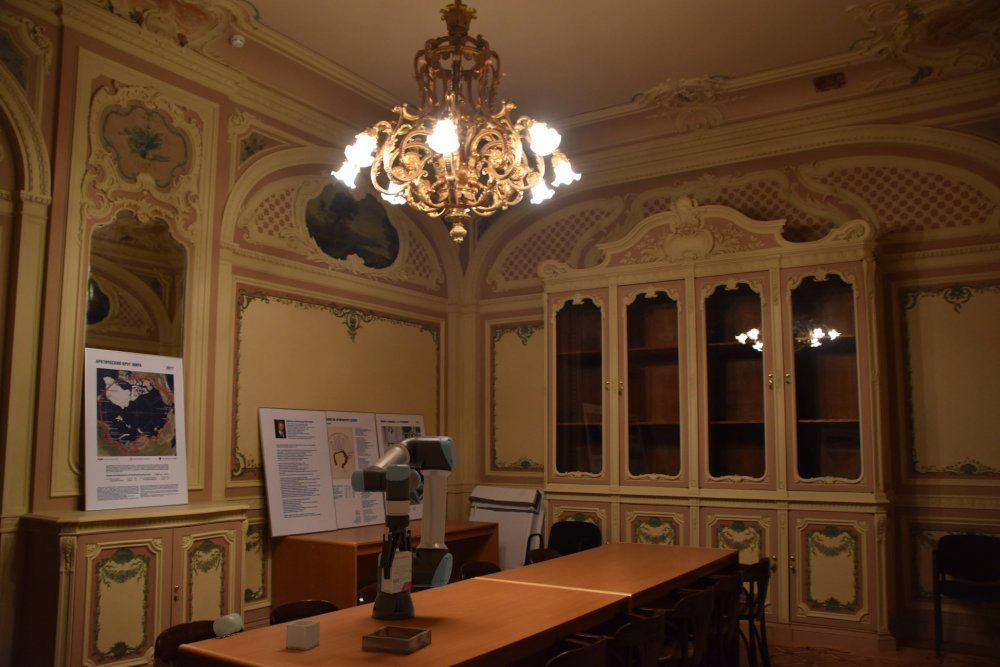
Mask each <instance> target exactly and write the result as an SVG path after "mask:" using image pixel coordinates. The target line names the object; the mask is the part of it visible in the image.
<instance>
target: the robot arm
mask: <svg viewBox="0 0 1000 667" xmlns="http://www.w3.org/2000/svg"><path fill="white" fill-rule="evenodd" d="M456 448H457V447H456V444H455V441H454V440H453V438H452V437H450V436H446V435H445V436H443V435H434V436H433V435H427V436H423V435H422V436H421V435H420V436H419V435H418V436H417V435H416V436H415V435H413V436H409V437H408V436H407V437H405V438H402V439H400V440H397V441H395V442H394V443H392V444H391V445H390V446H388V447H387V448H386V449H385V452H384V454H383V455H382V456H381V457H379V458H378V459H377V460H376V461H374V462H373V463H372V464H371V465H369V466H368V467H367V468H358V469H355V470H353V471H352V474H351V480H350V484H351V485H350V486H351V489H352V490H353V491H354V492H355V493H385V513H386V515H385V522H384V524H385V527H386V528H388V533H383V534H382V541H383V542H382V548H381V552H380V553H379V555H378V557H377V558H378V561H377V563H378V564H377V595H376V598H375V601H374V604H373V607H372V616H371V617H372V618H374V619H377V620H383V621H384V620H385V621H386V620H387V621H391V620H392V621H395V620H396V621H397V620H405V619H410V618H412V617H414V616H415V611H416V610H415V606H414V602H413V600H412V596H411V590H406V591H401V592H397V593H392V594H390V593H386V592H382V591H381V587H382V568H384V590H390V591H392V590H393V568H391V567H392V563H393V560H394V556H395V552H396V551H410V552H412V572H411V587H423V588H424V587H427V588H428V587H429V588H442V587H445V586H446V585H447V584H448V583H449V581H450V578H451V574H452V569H453V555H452V553H449V548H448V547H447V545H446V544H445V535H446V534H445V533H446V532H445V530H446V513H447V512H446V509H447V492H448V491H447V490H448V489H447V487H448V477H449V476H450V475H451V474H452V471H453V469H454V468H456V467H457V463H458V454H457V449H456ZM413 468H419V469H420V470H419V471H420V473H421V474H420V473H419V471H417V470H416V469H413ZM421 475H423V490H422V494H423V495H422V507H421V508H422V510H421V512H422V513H421V532H420V543H419V544H418V545H417V546H416V547H415V552H413V545H412V544H413V543H412V529H407V528H408V527H410V520H411V519H410V514H409V513H411V511H410V510H411V501H410V499H411V493H414V492H415V491H416V490H417V489H419V487H420V486H421V483H422V479H421ZM383 562H384V563H383Z"/></svg>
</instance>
